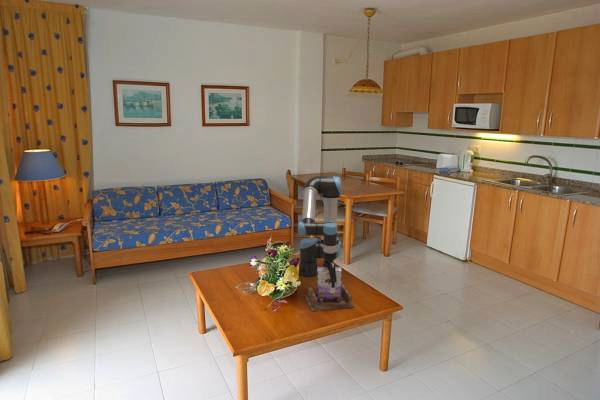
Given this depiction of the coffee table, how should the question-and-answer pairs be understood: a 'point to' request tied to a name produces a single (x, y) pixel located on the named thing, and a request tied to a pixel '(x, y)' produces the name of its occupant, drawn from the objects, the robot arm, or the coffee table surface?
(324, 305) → the peg frame
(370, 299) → the coffee table surface
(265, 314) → the coffee table surface
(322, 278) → the candy box
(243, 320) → the coffee table surface
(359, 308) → the coffee table surface
